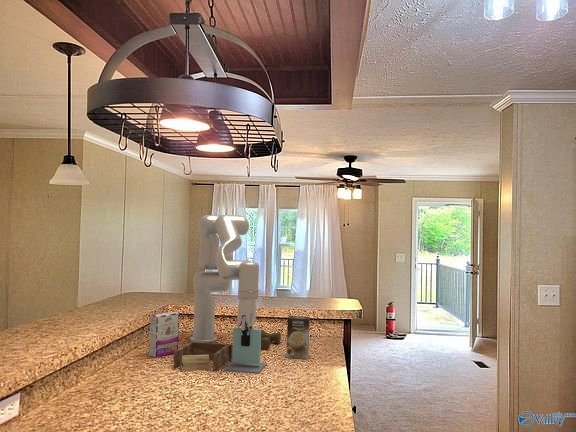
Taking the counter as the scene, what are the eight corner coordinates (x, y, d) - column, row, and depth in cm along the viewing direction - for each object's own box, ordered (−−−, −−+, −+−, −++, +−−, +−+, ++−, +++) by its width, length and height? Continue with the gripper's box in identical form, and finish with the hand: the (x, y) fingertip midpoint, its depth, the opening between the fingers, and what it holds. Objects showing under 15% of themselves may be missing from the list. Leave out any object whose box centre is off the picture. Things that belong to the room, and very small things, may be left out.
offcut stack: (181, 367, 168) (181, 355, 168) (208, 366, 170) (209, 354, 170) (181, 371, 163) (181, 359, 163) (209, 370, 165) (210, 358, 166)
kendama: (252, 350, 198) (262, 339, 218) (273, 352, 196) (282, 341, 216) (252, 336, 198) (263, 326, 218) (274, 338, 196) (283, 328, 216)
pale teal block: (234, 359, 172) (235, 327, 173) (260, 361, 170) (261, 328, 171) (232, 361, 169) (233, 328, 170) (258, 363, 167) (259, 330, 168)
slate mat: (233, 362, 177) (233, 360, 177) (266, 364, 174) (266, 363, 174) (223, 370, 165) (224, 369, 165) (259, 373, 162) (259, 371, 163)
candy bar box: (170, 351, 191) (172, 311, 192) (178, 353, 188) (180, 312, 189) (148, 356, 182) (149, 314, 183) (155, 358, 179) (157, 316, 180)
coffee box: (285, 358, 185) (286, 318, 185) (287, 354, 191) (288, 315, 192) (308, 359, 184) (309, 319, 184) (309, 355, 190) (310, 316, 191)
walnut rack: (188, 356, 183) (189, 341, 183) (232, 359, 180) (232, 344, 180) (171, 367, 167) (171, 351, 167) (218, 371, 163) (218, 354, 164)
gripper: (244, 292, 180) (243, 339, 179) (231, 297, 164) (230, 349, 163) (263, 293, 178) (261, 341, 177) (252, 298, 162) (250, 350, 161)
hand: (246, 344), depth 170 cm, fingers closed on pale teal block, 3 cm apart
